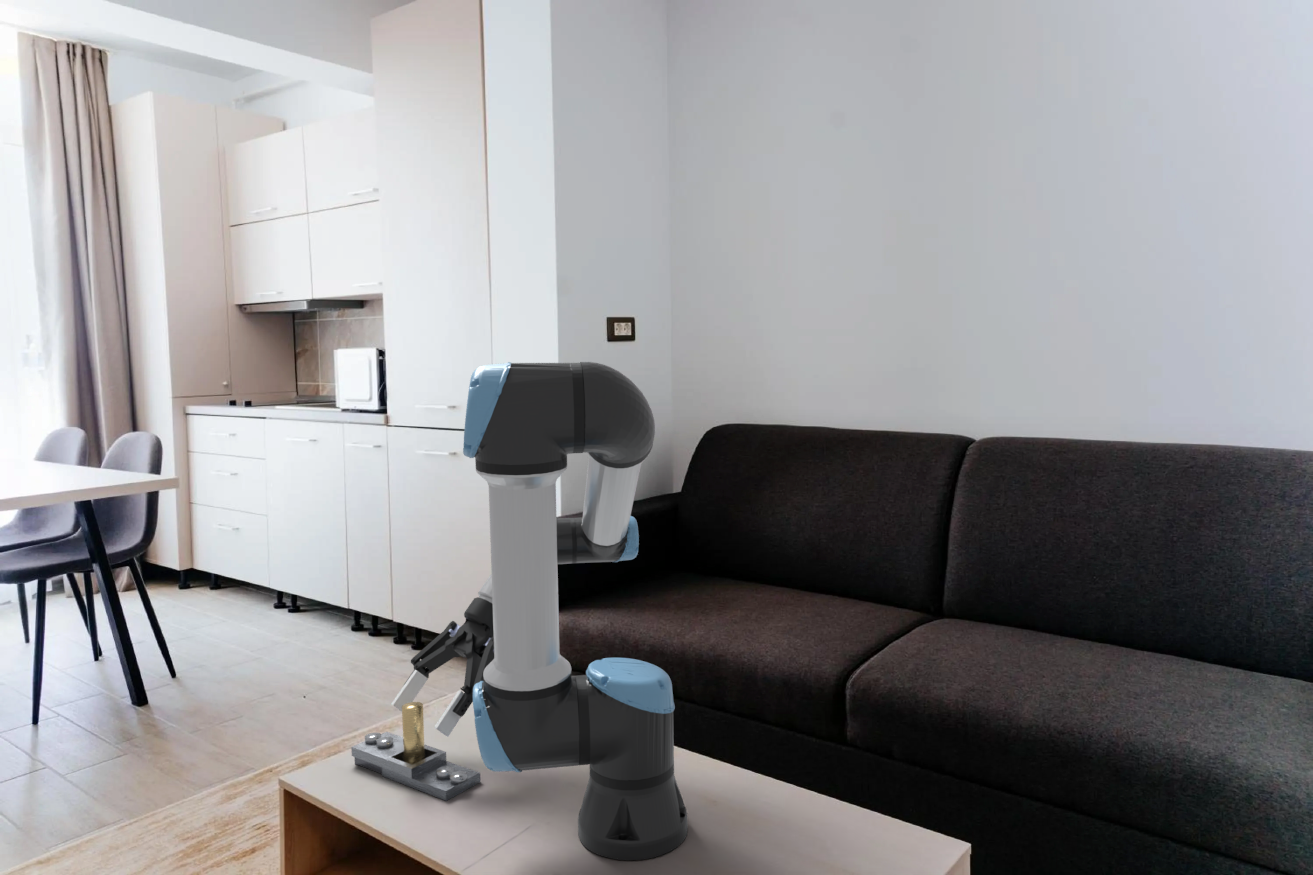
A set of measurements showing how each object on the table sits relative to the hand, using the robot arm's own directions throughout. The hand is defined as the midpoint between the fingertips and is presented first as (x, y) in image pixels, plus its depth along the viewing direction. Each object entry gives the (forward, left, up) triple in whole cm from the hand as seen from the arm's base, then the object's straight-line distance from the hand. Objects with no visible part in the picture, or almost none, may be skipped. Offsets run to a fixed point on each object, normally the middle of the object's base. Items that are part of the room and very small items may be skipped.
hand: (418, 720), depth 140 cm
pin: (-1, +1, -8) cm, 8 cm away
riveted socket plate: (-1, +1, -8) cm, 8 cm away
